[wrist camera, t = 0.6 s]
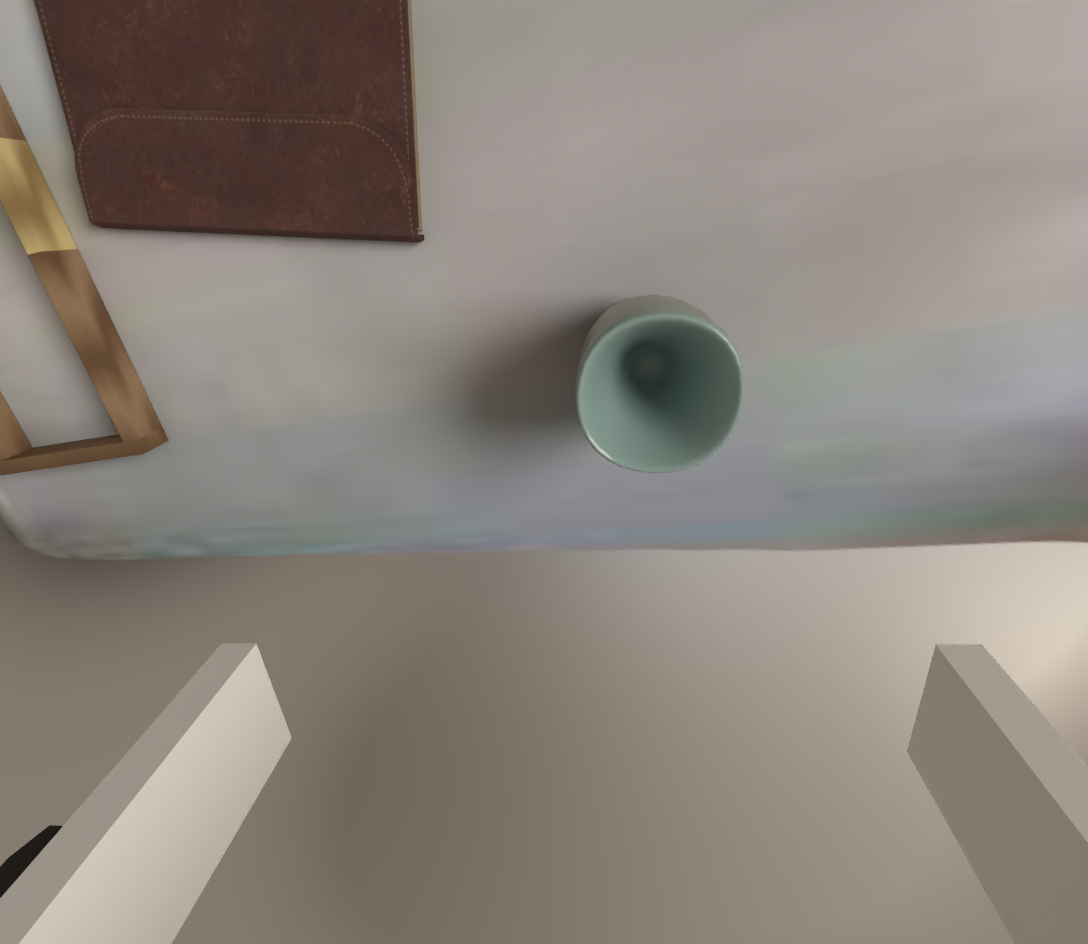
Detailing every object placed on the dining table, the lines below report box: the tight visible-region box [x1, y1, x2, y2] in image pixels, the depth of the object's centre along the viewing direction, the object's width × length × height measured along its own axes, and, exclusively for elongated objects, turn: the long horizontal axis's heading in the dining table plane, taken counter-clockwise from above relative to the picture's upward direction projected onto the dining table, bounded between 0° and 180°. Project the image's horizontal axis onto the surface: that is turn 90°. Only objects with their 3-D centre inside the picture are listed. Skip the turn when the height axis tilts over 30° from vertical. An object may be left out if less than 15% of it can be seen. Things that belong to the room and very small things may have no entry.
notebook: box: [34, 0, 424, 242], centre depth 31 cm, size 15×20×2 cm
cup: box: [575, 295, 744, 473], centre depth 30 cm, size 8×8×10 cm
